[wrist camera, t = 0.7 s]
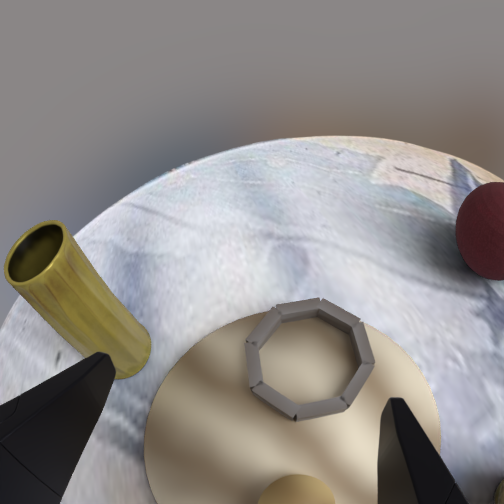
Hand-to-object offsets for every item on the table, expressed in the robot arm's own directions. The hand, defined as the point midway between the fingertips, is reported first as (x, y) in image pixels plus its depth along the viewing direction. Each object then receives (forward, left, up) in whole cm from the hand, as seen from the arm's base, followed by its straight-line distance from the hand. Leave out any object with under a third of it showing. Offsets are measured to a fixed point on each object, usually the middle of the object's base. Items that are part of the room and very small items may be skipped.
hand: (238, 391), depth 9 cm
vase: (-2, +15, -16) cm, 22 cm away
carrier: (+1, -2, -16) cm, 16 cm away
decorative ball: (+27, -10, -16) cm, 33 cm away
